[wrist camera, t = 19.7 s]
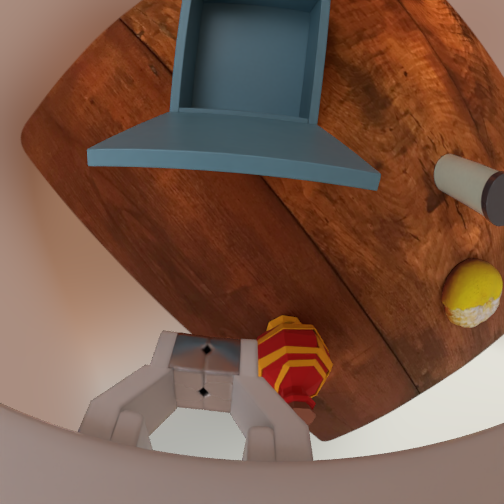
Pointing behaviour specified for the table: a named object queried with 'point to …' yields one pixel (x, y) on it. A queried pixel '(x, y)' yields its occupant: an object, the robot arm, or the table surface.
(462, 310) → the fruit
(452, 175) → the jar
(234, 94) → the chest
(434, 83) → the table surface
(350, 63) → the table surface
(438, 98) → the table surface
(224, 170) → the lid
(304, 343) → the potion bottle
